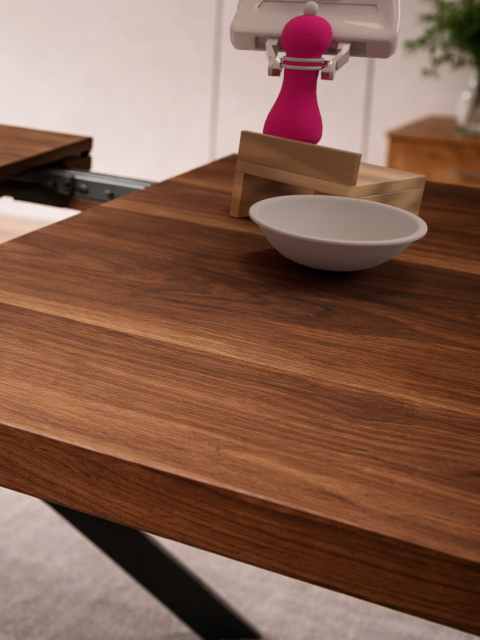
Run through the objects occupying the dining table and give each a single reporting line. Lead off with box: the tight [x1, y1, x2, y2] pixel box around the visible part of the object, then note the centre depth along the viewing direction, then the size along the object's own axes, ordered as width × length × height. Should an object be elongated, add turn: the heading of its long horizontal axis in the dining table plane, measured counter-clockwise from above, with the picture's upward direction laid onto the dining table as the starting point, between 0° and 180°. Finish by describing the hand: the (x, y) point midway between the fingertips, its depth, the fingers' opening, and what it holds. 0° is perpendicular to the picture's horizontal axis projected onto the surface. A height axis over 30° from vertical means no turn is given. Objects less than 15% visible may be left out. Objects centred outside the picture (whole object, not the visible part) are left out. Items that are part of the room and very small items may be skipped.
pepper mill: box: [262, 1, 333, 145], centre depth 119 cm, size 7×7×20 cm
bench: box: [229, 129, 428, 219], centre depth 98 cm, size 12×14×9 cm
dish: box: [248, 194, 428, 272], centre depth 83 cm, size 18×14×5 cm
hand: (300, 75), depth 118 cm, fingers closed on pepper mill, 5 cm apart
